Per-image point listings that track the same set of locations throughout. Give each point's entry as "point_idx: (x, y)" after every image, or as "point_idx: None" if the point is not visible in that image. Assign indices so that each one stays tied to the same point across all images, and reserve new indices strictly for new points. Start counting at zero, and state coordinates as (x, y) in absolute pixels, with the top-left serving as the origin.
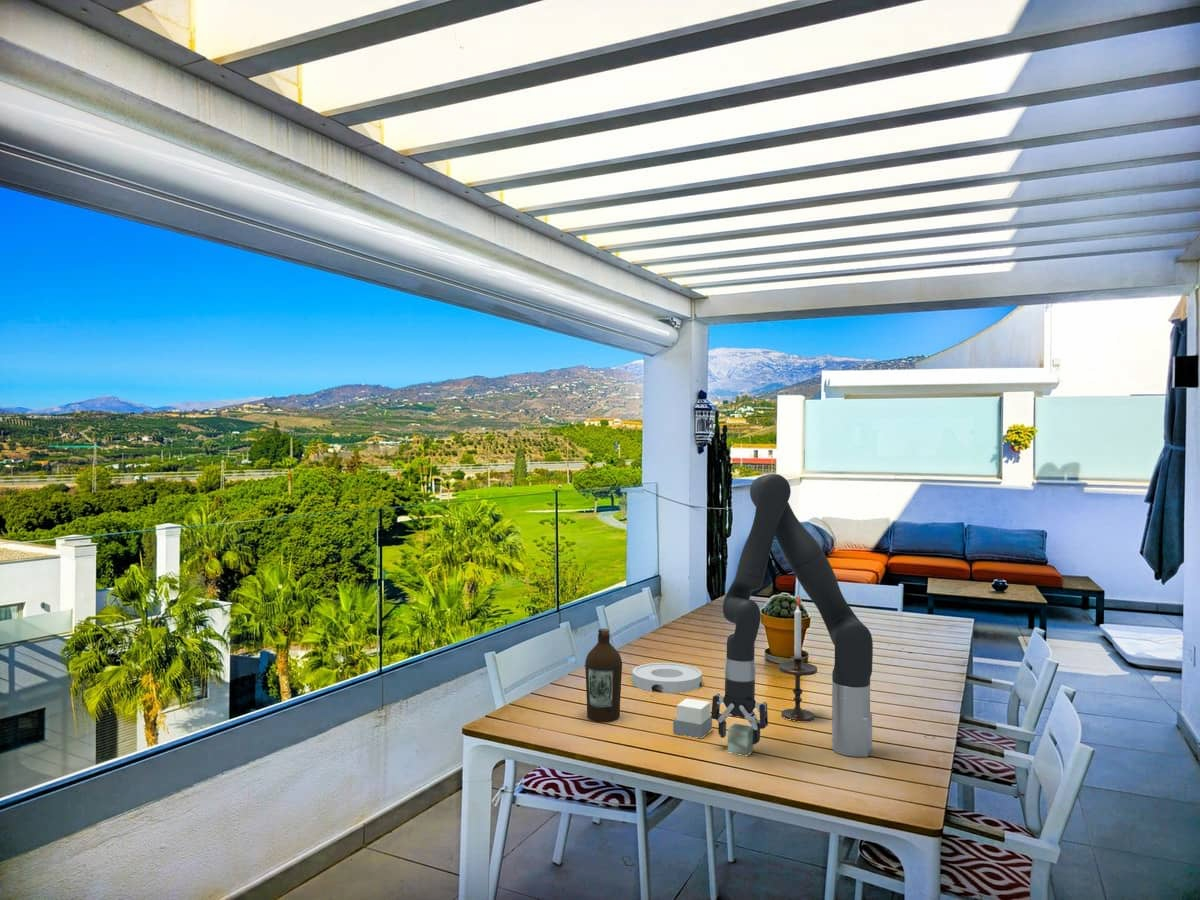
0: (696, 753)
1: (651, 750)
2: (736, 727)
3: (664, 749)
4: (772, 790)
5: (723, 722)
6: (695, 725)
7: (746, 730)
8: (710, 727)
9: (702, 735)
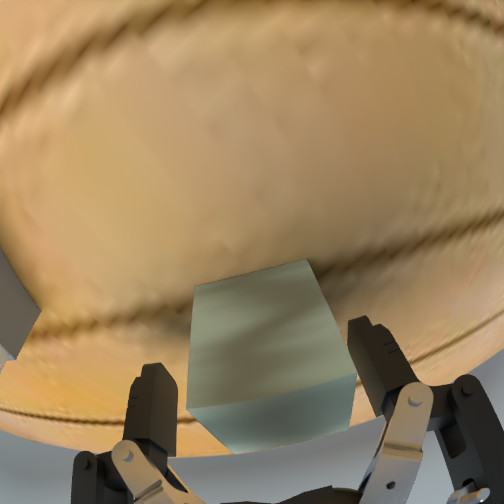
0: None
1: (87, 422)
2: (255, 434)
3: (91, 413)
4: None
5: (162, 453)
6: None
7: (334, 422)
8: None
9: (26, 304)
